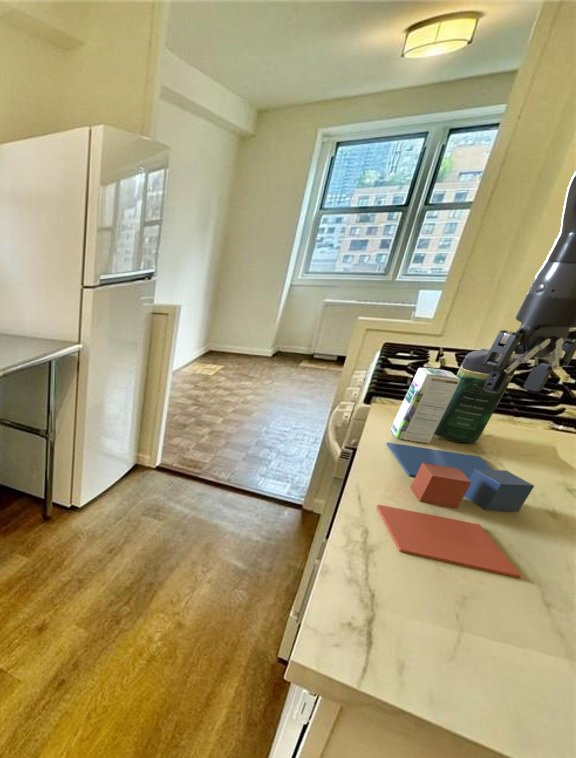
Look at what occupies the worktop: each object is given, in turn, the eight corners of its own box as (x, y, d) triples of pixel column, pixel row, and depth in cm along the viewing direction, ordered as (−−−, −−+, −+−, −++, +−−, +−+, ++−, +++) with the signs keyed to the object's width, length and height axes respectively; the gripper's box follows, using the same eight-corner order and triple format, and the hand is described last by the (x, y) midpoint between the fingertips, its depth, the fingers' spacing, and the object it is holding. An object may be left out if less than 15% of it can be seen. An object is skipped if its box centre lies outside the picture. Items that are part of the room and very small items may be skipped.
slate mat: (479, 458, 95) (479, 456, 95) (516, 494, 83) (517, 492, 83) (386, 443, 101) (387, 442, 101) (408, 475, 89) (409, 474, 89)
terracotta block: (446, 493, 83) (459, 468, 81) (457, 508, 79) (471, 482, 77) (410, 487, 85) (422, 462, 83) (419, 501, 81) (432, 475, 79)
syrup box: (389, 429, 108) (416, 366, 101) (422, 434, 105) (452, 370, 99) (395, 439, 103) (425, 373, 97) (430, 444, 101) (463, 378, 94)
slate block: (491, 495, 83) (506, 470, 81) (518, 512, 78) (534, 485, 76) (460, 494, 83) (474, 468, 81) (485, 510, 79) (500, 484, 77)
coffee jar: (477, 448, 99) (524, 360, 91) (427, 436, 104) (468, 352, 96) (478, 434, 106) (522, 351, 97) (431, 424, 111) (469, 343, 102)
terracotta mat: (478, 526, 75) (479, 524, 75) (519, 578, 64) (521, 575, 64) (376, 506, 80) (377, 504, 79) (399, 551, 69) (400, 549, 69)
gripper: (555, 298, 71) (501, 401, 78) (631, 295, 73) (571, 396, 80) (498, 290, 78) (453, 386, 85) (569, 288, 80) (519, 382, 87)
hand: (511, 391), depth 83 cm, fingers open, 8 cm apart
